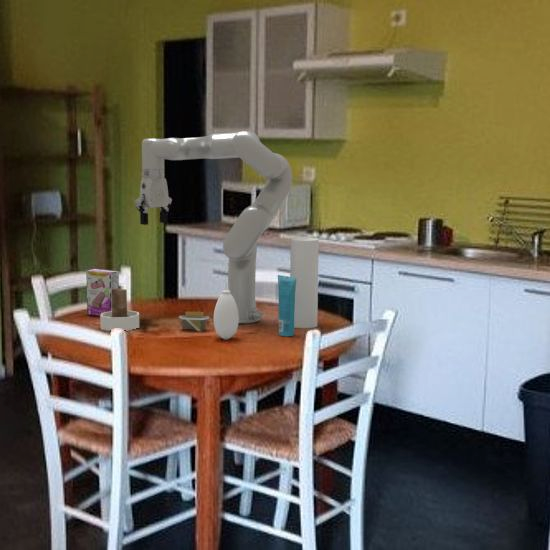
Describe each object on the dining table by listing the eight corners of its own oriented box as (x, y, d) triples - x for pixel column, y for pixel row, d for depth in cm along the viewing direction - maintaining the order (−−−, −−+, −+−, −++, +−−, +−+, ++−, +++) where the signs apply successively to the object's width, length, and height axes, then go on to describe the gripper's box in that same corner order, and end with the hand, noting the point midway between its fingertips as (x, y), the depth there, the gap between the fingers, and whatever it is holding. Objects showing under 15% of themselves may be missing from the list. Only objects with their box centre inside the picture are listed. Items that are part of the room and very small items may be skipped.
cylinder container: (285, 323, 278) (285, 236, 273) (309, 321, 282) (310, 235, 277) (297, 329, 269) (298, 239, 265) (322, 326, 273) (323, 238, 269)
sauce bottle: (210, 340, 252) (210, 283, 249) (218, 335, 259) (218, 279, 256) (234, 342, 250) (234, 284, 247) (241, 337, 257) (241, 281, 254)
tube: (300, 335, 260) (300, 276, 257) (292, 337, 256) (292, 278, 253) (280, 332, 264) (280, 274, 261) (272, 335, 260) (272, 276, 257)
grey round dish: (147, 326, 272) (146, 313, 271) (119, 332, 262) (119, 319, 261) (120, 321, 279) (120, 309, 278) (92, 328, 269) (92, 314, 268)
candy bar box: (86, 315, 290) (85, 270, 287) (95, 313, 294) (94, 268, 292) (111, 318, 284) (110, 272, 282) (120, 316, 289) (119, 270, 286)
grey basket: (216, 336, 259) (216, 316, 258) (162, 334, 261) (161, 315, 260) (223, 329, 271) (223, 309, 270) (171, 327, 273) (171, 308, 272)
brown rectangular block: (127, 325, 270) (126, 289, 268) (121, 326, 268) (121, 290, 266) (117, 323, 273) (117, 288, 271) (112, 324, 271) (111, 289, 269)
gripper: (143, 175, 272) (144, 225, 274) (178, 174, 286) (178, 222, 288) (127, 174, 276) (128, 224, 278) (162, 173, 290) (163, 221, 292)
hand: (154, 223), depth 283 cm, fingers open, 9 cm apart
